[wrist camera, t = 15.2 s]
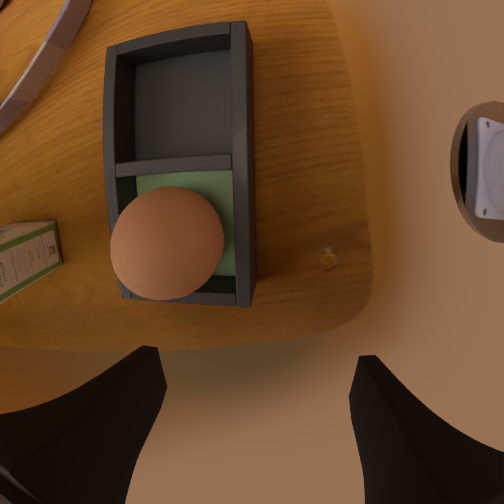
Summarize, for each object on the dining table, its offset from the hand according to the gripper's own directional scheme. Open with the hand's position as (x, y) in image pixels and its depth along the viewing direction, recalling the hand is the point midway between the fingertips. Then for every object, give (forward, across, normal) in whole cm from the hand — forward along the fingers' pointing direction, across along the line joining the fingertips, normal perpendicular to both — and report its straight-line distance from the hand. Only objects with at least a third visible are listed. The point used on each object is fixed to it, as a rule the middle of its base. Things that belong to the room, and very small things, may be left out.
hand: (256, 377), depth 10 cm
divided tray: (+9, +5, -7) cm, 13 cm away
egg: (+9, +5, -3) cm, 11 cm away
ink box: (+10, +20, -2) cm, 22 cm away
